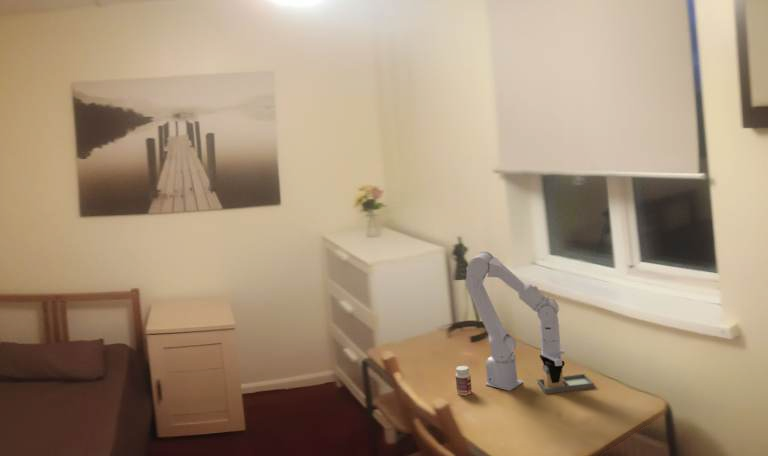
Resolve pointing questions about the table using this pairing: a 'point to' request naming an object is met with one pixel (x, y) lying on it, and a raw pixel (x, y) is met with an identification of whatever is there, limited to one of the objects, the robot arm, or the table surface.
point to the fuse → (548, 381)
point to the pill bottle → (463, 380)
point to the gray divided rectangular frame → (569, 384)
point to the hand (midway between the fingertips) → (553, 379)
